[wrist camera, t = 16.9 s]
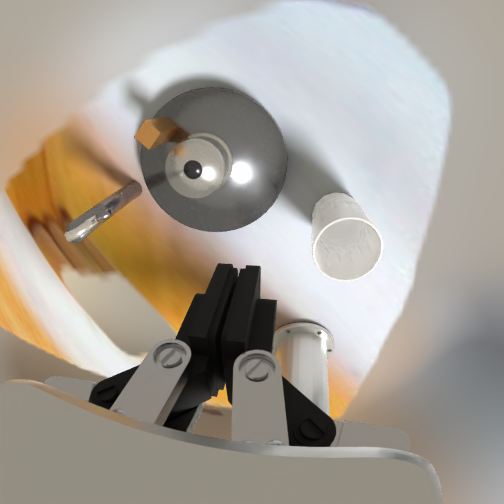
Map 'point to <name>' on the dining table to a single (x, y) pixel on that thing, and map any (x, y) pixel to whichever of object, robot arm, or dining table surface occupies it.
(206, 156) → the cover
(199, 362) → the robot arm
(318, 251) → the white cup
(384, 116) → the dining table surface
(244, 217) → the turntable
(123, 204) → the dial post
